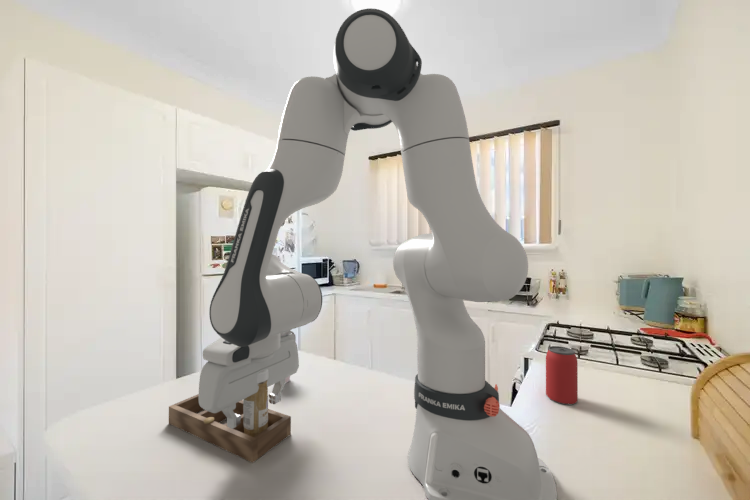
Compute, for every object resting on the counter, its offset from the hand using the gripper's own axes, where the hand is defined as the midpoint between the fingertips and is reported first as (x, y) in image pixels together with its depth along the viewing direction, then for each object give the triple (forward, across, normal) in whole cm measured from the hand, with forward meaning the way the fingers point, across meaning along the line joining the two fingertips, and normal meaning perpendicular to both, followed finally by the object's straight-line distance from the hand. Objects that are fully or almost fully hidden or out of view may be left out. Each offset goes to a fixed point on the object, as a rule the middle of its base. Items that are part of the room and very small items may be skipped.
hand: (255, 413), depth 57 cm
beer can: (+5, -46, +52) cm, 70 cm away
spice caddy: (+5, 0, -8) cm, 9 cm away
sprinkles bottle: (+5, 0, 0) cm, 5 cm away
